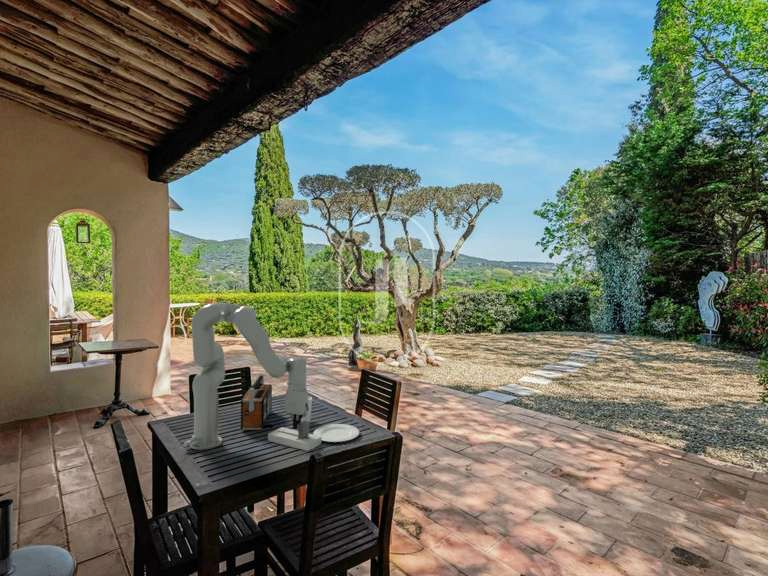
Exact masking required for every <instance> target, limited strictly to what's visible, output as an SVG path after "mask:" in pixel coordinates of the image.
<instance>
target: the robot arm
mask: <svg viewBox="0 0 768 576" xmlns="http://www.w3.org/2000/svg"><path fill="white" fill-rule="evenodd" d="M221 322H224V323H231V324H233V325H234V327H235V328H236V329H237V330H238V332H239V333H240V335H241V336H242V337H243V338H244V339H245V341H246V342H247V343H248V344H249V345H250V348H251V350H252V352H253V354H254V355H255V358H256V360H257V361H258V363H259V364H260V365H261V367H262V368H263V369H264V371H266V373H267V374H268V375H269V376H270V377H271V378H274V379H280V378H282V377H283V376H284V375H285V374H288V378H287V382H286V385H287V386H288V387H287V389H286V391H285V395H284V411H285V413H286V414H288V415H289V416H290V417H291V420H292V430H296V431H298V429H297V424H299V423H301V419H302V417H306V416H308V413H307V412H308V410H309V400H308V396H309V393H308V392H309V391H308V389H307V359H306V358H305V357H303V356H293V357H291V356H285V355H277V354H276V352H275V350H273V347H272V346H271V345H272V344H271V343H270V342H271V341H270V337H269V334H268V333H267V331H266V330H265V329H264V327H263V326H262V325H261V323H260V322H259V321H258V319H257V313H256V311H255V309H254V308H252V307H250V306H245V305H239V304H235V303H229V302H224V301H223V302H222V301H219V302H213V303H209V304H206V305H204V306H202V307H200V308H199V309H198V310H197V311H196V312H195V313H194V314H193V317H192V320H191V335H192V350H193V351H192V352H193V361H194V363H195V365H196V366H198V367H200V368H202V370H201V371H200V372H198V373H197V374H196V375H195V376H194V377H193V381H192V383H191V384H192V385H191V386H192V387H191V388H192V392H193V435H191V438H190V439H189V440H186V441H184V442H183V444H182V445H183V447H184V448H185V447H188V446H189V448H191V449H193V450H197V451H200V450H201V451H204V450H205V451H206V450H209V449H210V450H211V449H214V448H216V447H219V446H221V444H222V443H223V438H222V437H220V436H219V423H220V421H219V412H220V411H219V407H220V405H219V404H220V403H219V402H220V401H219V393H218V392H219V391H218V387H219V386H221V384H222V383H223V382H224V380H225V378H226V367H225V353H224V349H223V347H222V345H221V344H220V343H218V342H217V341H216V340H215V331H214V325H215V324H218V323H221Z"/></svg>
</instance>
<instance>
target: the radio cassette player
mask: <svg viewBox="0 0 768 576" xmlns="http://www.w3.org/2000/svg"><path fill="white" fill-rule="evenodd" d="M272 395H273V385H272V384H271V383H265V381H264V374H260V375H259V376H258V378H256V380H255V382H254V383H253V384H251V386H250V387H249V389H248V390H247V392H246V393H245V394H244V396H243V397H242V398H241V400H240V430H242V431H256V430H257V431H259V430H263V429H264V426H265V424H266V421H267V419H268V416H269V415H270V413H271V411H272V406H273V405H272V401H273V400H272V399H273V396H272Z"/></svg>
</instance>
